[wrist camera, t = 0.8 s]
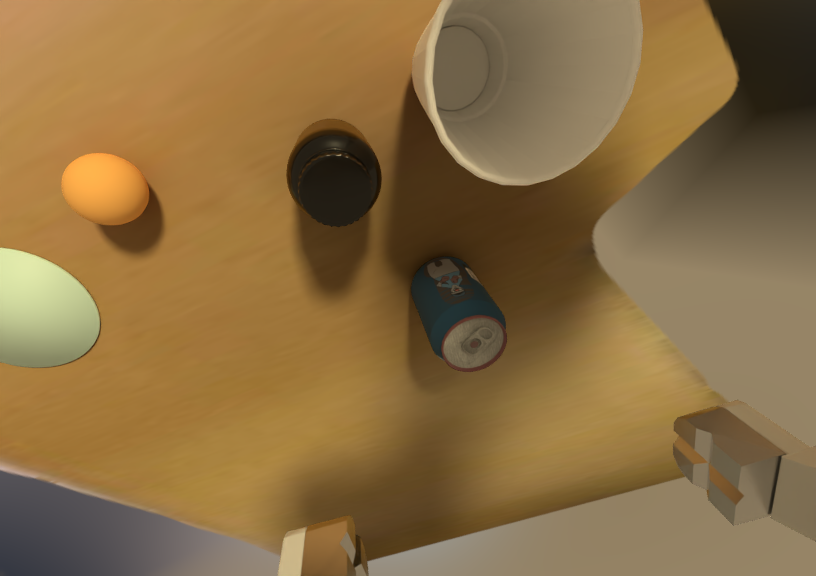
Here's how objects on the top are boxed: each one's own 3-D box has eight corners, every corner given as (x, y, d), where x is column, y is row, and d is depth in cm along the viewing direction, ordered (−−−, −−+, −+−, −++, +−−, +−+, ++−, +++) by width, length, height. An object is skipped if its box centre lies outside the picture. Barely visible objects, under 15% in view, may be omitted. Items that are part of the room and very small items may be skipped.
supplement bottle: (386, 159, 37) (410, 195, 27) (334, 210, 38) (337, 262, 28) (331, 98, 34) (335, 112, 23) (277, 155, 35) (257, 192, 25)
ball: (79, 141, 32) (37, 154, 27) (157, 154, 33) (129, 168, 29) (89, 207, 34) (51, 230, 30) (161, 217, 36) (136, 239, 31)
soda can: (438, 317, 47) (471, 389, 36) (395, 284, 43) (418, 352, 33) (482, 276, 45) (529, 339, 35) (441, 239, 42) (479, 295, 31)
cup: (422, -51, 30) (505, -150, 16) (543, 33, 34) (690, 10, 20) (361, 106, 34) (385, 132, 21) (475, 163, 39) (559, 217, 25)
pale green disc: (-94, 237, 33) (-96, 238, 33) (90, 256, 36) (89, 257, 36) (-48, 362, 39) (-49, 364, 38) (108, 369, 42) (107, 370, 42)
